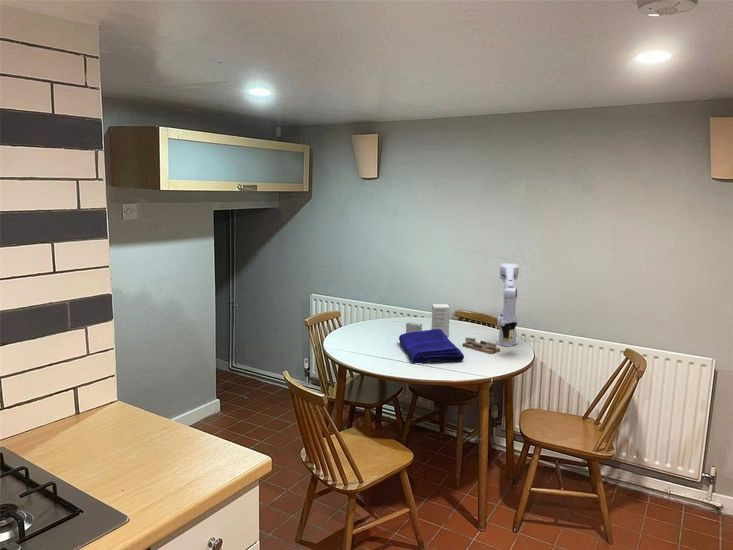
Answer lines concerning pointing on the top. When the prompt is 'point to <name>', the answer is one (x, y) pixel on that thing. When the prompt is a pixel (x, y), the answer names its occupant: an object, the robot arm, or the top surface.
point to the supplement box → (440, 317)
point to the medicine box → (413, 327)
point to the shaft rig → (481, 345)
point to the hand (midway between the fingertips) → (507, 336)
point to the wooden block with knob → (510, 337)
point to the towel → (430, 347)
